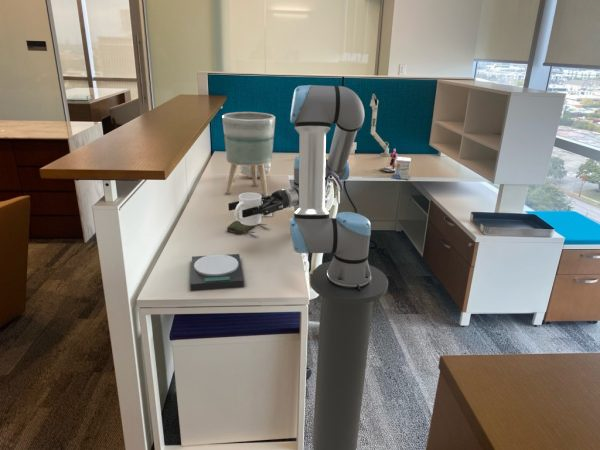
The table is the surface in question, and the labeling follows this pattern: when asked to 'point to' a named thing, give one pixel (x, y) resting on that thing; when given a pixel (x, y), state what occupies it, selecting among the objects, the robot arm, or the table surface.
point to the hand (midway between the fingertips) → (235, 210)
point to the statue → (392, 163)
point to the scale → (216, 272)
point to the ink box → (402, 167)
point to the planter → (249, 143)
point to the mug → (245, 203)
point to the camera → (247, 170)
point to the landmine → (241, 228)
